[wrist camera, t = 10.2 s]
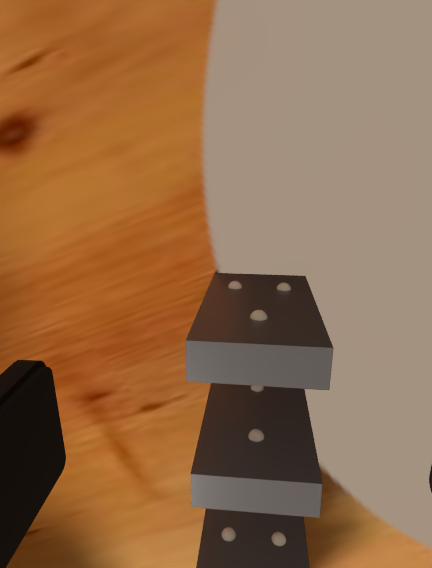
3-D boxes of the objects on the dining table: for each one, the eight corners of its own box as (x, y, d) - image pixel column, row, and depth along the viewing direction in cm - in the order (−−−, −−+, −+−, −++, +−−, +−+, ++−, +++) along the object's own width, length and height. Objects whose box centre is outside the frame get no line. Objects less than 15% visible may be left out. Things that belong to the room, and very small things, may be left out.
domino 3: (216, 439, 26) (193, 578, 17) (295, 444, 25) (313, 590, 17) (216, 464, 26) (194, 611, 18) (293, 470, 26) (310, 623, 17)
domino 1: (214, 267, 22) (185, 332, 14) (305, 270, 22) (334, 339, 13) (214, 300, 23) (186, 381, 14) (303, 303, 22) (329, 390, 14)
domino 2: (215, 359, 24) (190, 467, 15) (300, 363, 23) (322, 477, 15) (215, 387, 25) (191, 507, 16) (298, 391, 24) (319, 517, 15)
